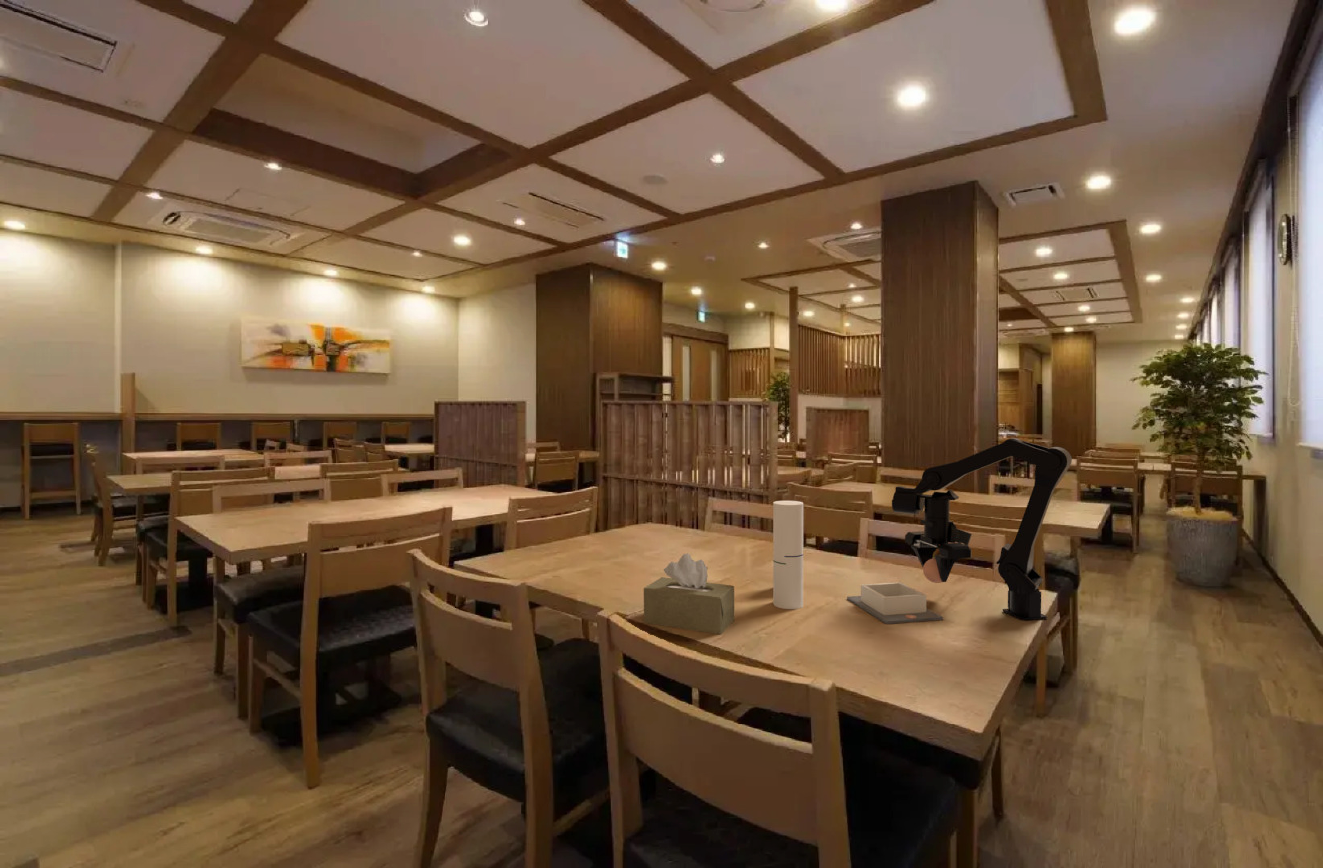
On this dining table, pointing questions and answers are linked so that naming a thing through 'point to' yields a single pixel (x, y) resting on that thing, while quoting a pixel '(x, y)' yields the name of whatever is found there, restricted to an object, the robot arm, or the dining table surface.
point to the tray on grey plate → (894, 603)
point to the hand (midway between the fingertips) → (936, 578)
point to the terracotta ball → (932, 571)
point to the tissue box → (689, 599)
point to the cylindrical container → (788, 554)
